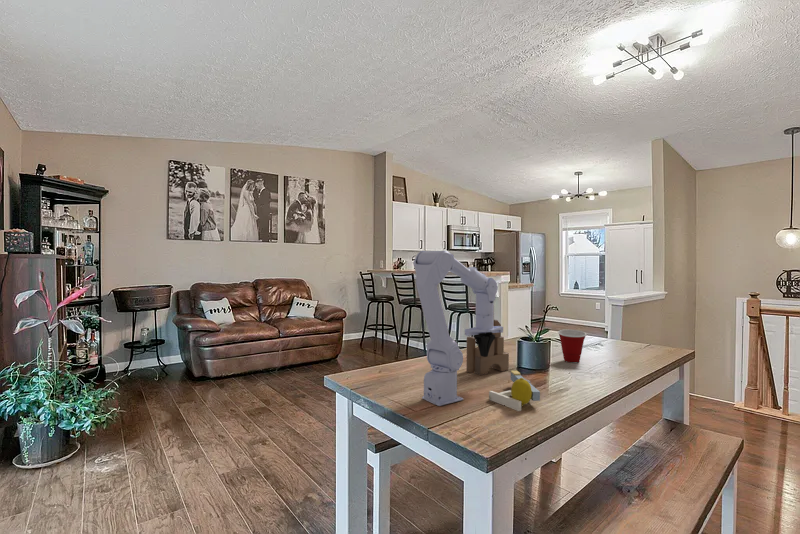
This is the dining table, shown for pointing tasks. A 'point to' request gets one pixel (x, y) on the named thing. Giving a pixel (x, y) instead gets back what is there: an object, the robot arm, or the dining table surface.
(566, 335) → the plastic cup
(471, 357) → the wooden toy
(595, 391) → the dining table surface
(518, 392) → the lemon
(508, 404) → the cream l-shaped bracket
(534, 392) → the lever
